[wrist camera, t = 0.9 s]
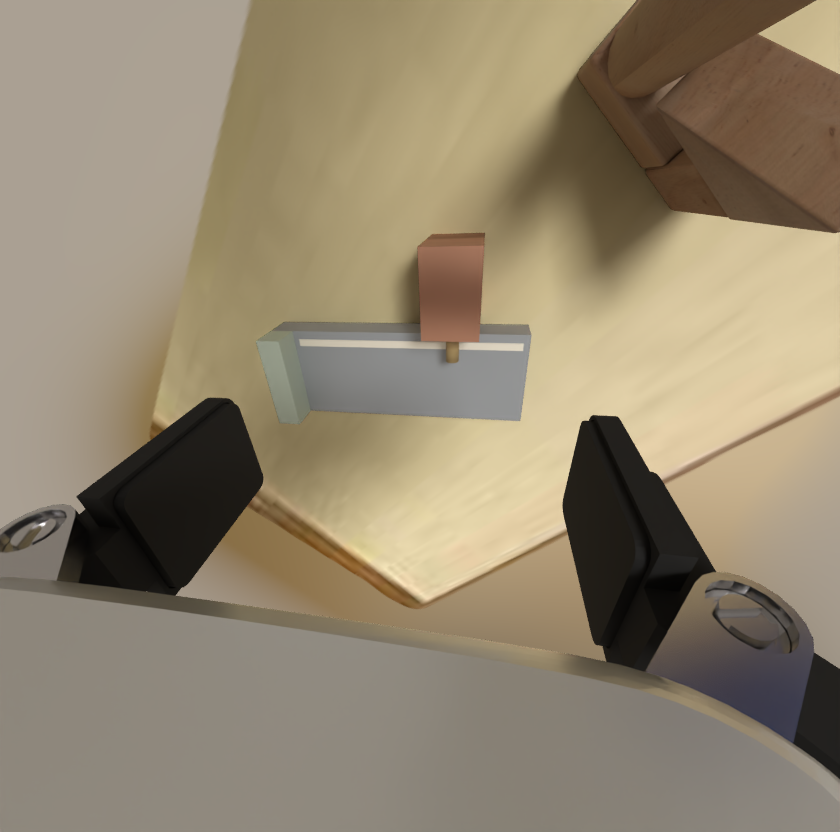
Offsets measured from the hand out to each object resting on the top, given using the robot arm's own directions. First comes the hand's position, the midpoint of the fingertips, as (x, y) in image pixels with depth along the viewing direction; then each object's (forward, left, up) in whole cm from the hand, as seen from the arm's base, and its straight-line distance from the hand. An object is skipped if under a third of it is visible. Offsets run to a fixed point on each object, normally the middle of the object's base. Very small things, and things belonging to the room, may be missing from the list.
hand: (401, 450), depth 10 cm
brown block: (+1, 0, -23) cm, 23 cm away
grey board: (+8, -5, -23) cm, 25 cm away
